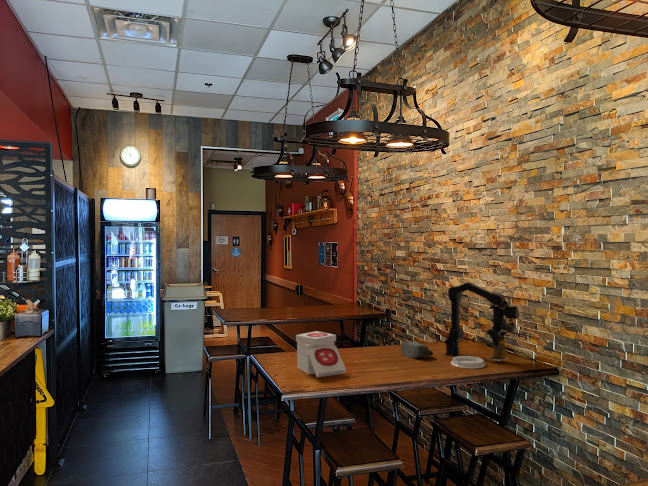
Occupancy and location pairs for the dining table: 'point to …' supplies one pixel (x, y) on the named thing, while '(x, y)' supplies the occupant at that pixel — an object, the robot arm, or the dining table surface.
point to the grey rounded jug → (415, 350)
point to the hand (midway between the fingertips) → (498, 346)
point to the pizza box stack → (318, 354)
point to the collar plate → (468, 362)
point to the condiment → (499, 350)
